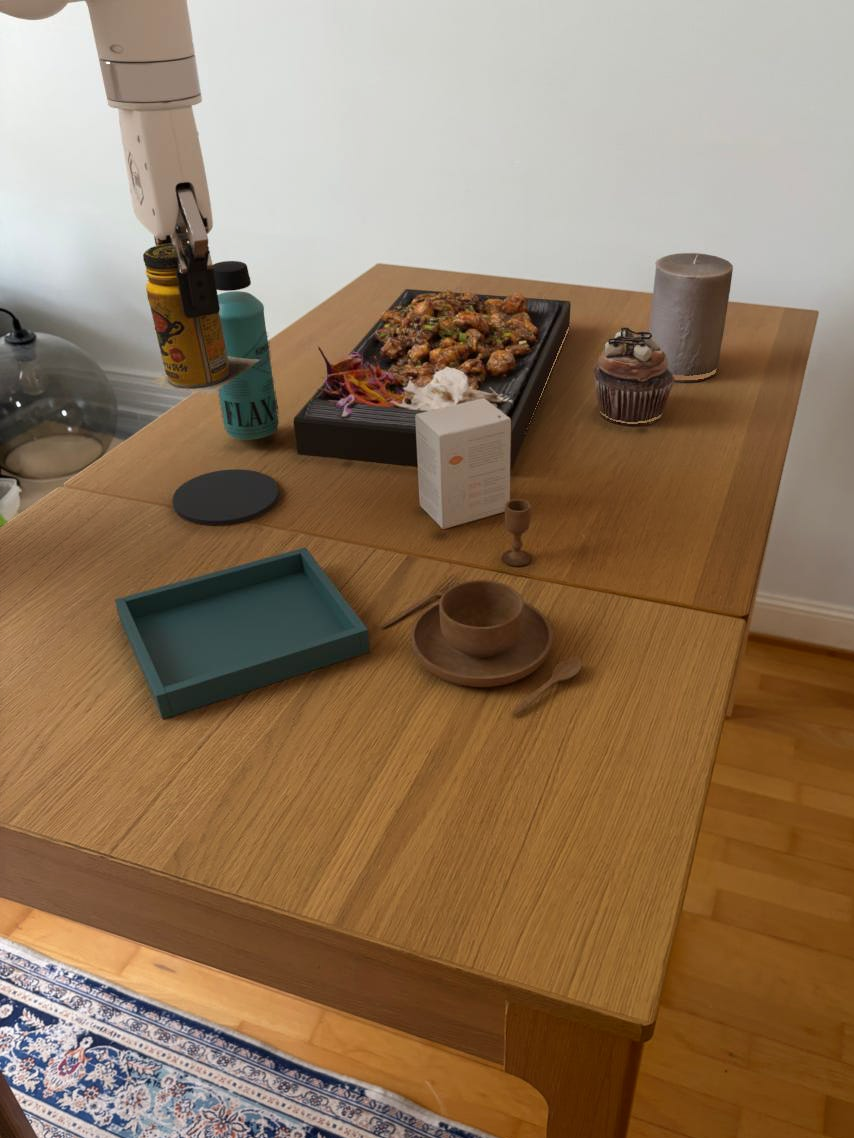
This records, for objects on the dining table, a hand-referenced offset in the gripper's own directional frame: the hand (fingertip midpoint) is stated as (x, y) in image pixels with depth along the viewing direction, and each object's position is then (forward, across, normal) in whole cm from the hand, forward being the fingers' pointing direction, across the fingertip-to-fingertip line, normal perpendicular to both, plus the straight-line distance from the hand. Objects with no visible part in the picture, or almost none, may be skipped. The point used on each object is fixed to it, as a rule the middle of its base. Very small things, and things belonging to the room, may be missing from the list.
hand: (191, 301), depth 91 cm
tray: (+21, +24, -6) cm, 32 cm away
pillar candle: (+21, -5, +64) cm, 68 cm away
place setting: (+21, +34, +15) cm, 43 cm away
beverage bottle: (+21, -12, +7) cm, 25 cm away
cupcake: (+21, +3, +50) cm, 54 cm away
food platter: (+21, -15, +34) cm, 43 cm away
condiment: (+7, 0, 0) cm, 7 cm away
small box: (+21, +14, +21) cm, 33 cm away
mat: (+21, 0, 0) cm, 21 cm away
